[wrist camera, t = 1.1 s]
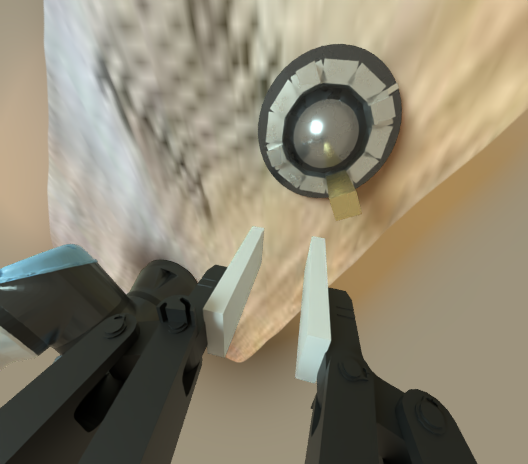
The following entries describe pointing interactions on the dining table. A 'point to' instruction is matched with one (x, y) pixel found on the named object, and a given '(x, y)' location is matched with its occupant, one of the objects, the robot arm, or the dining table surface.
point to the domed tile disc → (374, 142)
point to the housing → (328, 118)
